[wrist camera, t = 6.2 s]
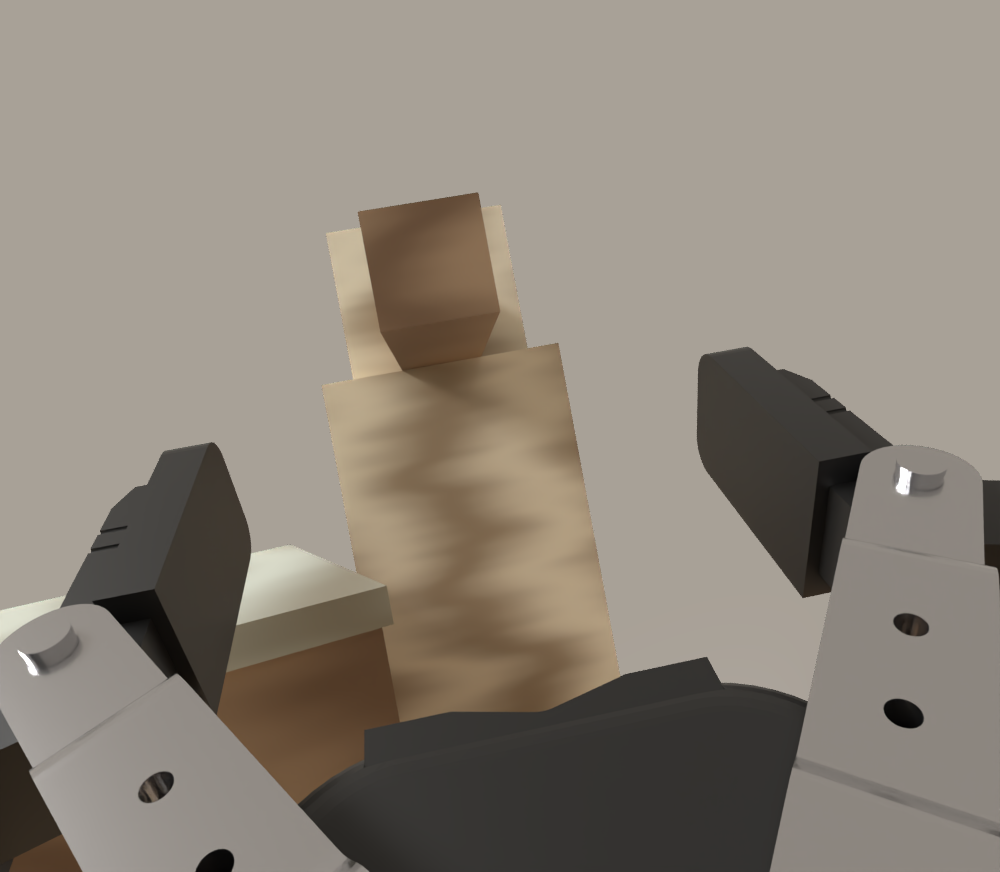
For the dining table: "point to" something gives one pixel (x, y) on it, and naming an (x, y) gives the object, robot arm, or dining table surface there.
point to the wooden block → (475, 532)
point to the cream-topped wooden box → (285, 675)
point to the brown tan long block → (426, 285)
